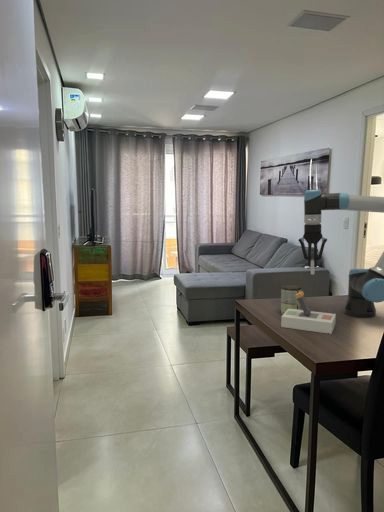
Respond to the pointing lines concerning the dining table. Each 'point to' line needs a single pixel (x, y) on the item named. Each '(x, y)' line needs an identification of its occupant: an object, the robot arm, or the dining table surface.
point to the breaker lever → (303, 303)
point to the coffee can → (289, 297)
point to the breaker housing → (308, 321)
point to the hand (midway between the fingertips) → (312, 273)
